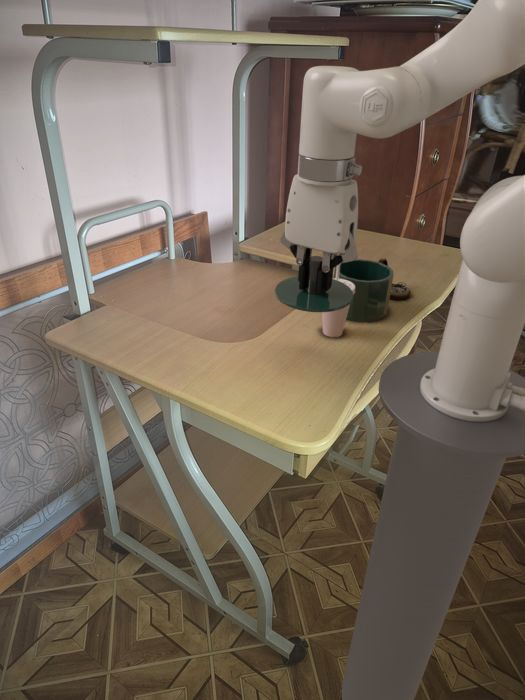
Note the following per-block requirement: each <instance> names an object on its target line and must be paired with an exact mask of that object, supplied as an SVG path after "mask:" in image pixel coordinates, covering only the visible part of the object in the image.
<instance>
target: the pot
mask: <svg viewBox="0 0 525 700" xmlns="http://www.w3.org/2000/svg"><path fill="white" fill-rule="evenodd" d="M336 270H337V266H336V267H334V270H333V278H336ZM339 279H345V280H348V281H350V282H352V283H353V284H354V285H355V293H354V295H353V300H352V302H351V303H350V306H349V310H348V314H347V318H346V320H348V321H353V322H362V323H366V322H368V323H369V322H375V321H379V320H381V319H383V318H384V317H385V316H387V313H388V310H389V304H390V299H391V298H390V293H391V288H392V284H393V281H394V270H393V269H392V267H390V266H389V265H388V266H387V265H384V264H382V263H380V262H378V261H375V260H371V259H361V258H356V259H355V260H353V261H350V262H345V263H340V272H339Z"/></svg>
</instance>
